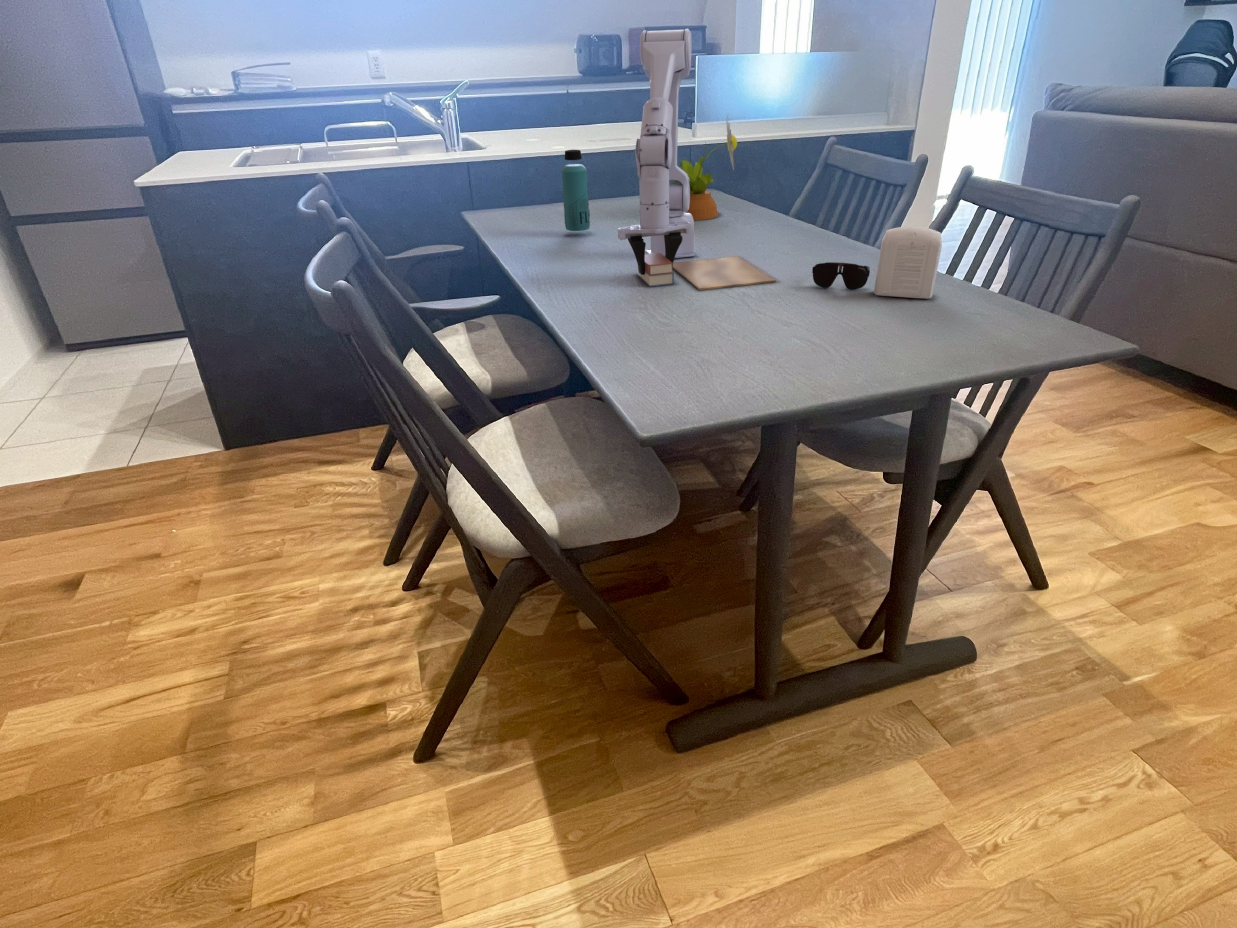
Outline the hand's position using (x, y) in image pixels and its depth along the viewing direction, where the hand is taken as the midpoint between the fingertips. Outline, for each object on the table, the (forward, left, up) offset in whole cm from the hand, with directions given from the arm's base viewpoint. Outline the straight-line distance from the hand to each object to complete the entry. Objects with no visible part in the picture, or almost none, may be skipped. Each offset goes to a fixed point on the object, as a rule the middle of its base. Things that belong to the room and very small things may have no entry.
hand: (655, 272), depth 150 cm
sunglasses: (-34, +14, -2) cm, 37 cm away
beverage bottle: (+7, -46, -2) cm, 47 cm away
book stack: (0, 0, -2) cm, 2 cm away
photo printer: (-40, +26, -2) cm, 48 cm away
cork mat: (-14, 0, -2) cm, 14 cm away
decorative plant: (-27, -58, -2) cm, 64 cm away
